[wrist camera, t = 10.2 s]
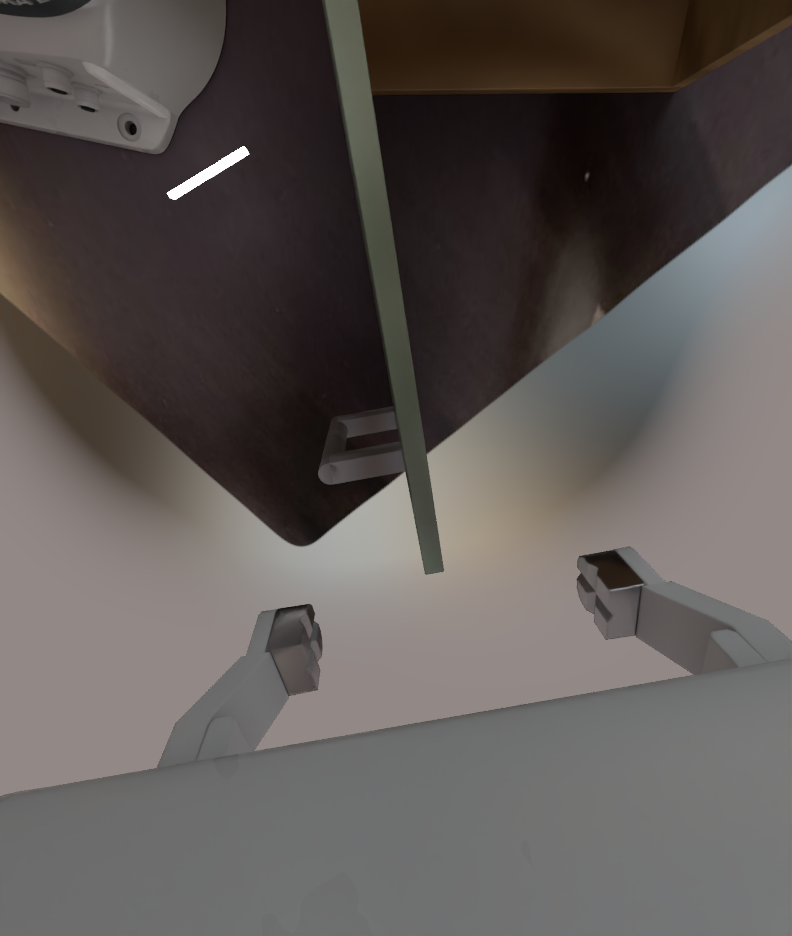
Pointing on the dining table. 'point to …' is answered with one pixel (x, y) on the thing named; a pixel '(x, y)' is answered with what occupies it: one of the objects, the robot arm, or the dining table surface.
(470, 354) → the dining table surface
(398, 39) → the cupboard
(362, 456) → the door
